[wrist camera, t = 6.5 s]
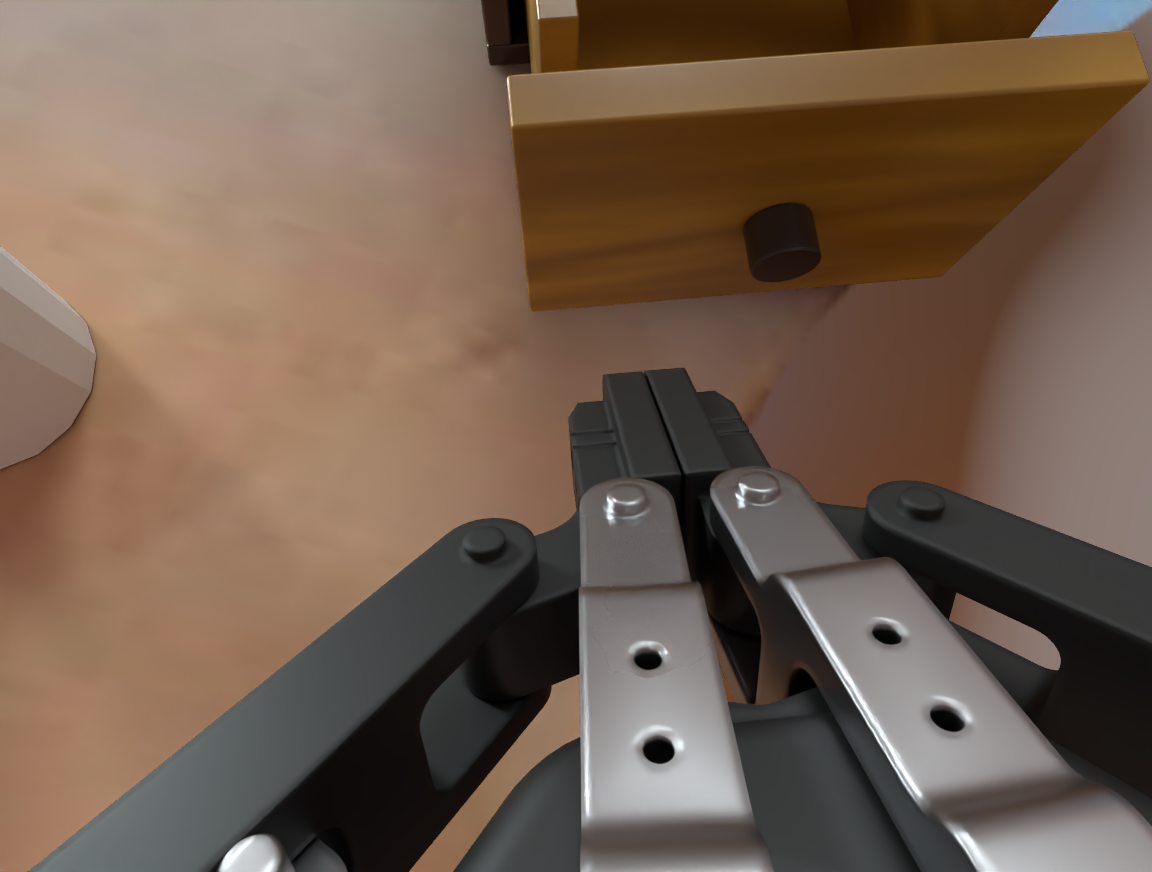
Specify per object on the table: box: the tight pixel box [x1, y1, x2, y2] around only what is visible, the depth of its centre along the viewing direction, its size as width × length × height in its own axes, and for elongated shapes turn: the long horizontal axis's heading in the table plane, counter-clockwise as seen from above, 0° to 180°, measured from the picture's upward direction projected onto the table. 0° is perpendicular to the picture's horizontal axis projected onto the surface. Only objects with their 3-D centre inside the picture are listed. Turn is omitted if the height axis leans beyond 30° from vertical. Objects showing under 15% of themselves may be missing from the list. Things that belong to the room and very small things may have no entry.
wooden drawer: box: [506, 0, 1150, 311], centre depth 18 cm, size 15×12×8 cm
